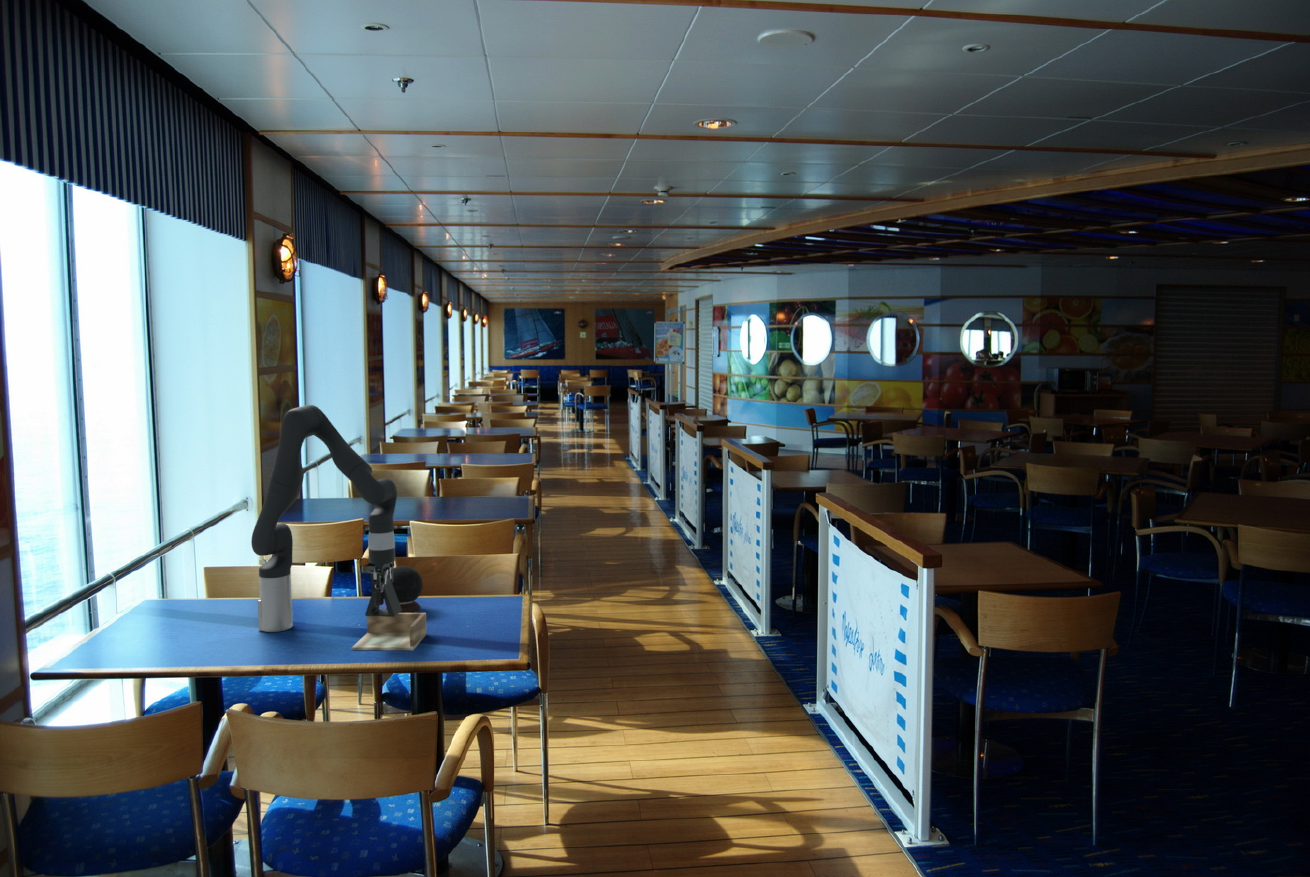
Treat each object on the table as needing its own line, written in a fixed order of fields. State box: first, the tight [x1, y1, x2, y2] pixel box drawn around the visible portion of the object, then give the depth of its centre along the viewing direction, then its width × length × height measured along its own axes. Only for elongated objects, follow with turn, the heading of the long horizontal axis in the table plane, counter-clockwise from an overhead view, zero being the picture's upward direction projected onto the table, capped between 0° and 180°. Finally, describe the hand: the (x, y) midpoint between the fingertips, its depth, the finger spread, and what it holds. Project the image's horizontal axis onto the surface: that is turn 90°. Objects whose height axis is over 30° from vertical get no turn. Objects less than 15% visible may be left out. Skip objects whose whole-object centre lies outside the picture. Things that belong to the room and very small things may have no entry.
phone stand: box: [364, 575, 402, 617], centre depth 269 cm, size 9×6×12 cm, turn 85°
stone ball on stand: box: [385, 565, 424, 613], centre depth 306 cm, size 13×13×15 cm
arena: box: [351, 612, 428, 651], centre depth 273 cm, size 18×15×7 cm
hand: (383, 601), depth 270 cm, fingers closed on phone stand, 6 cm apart
